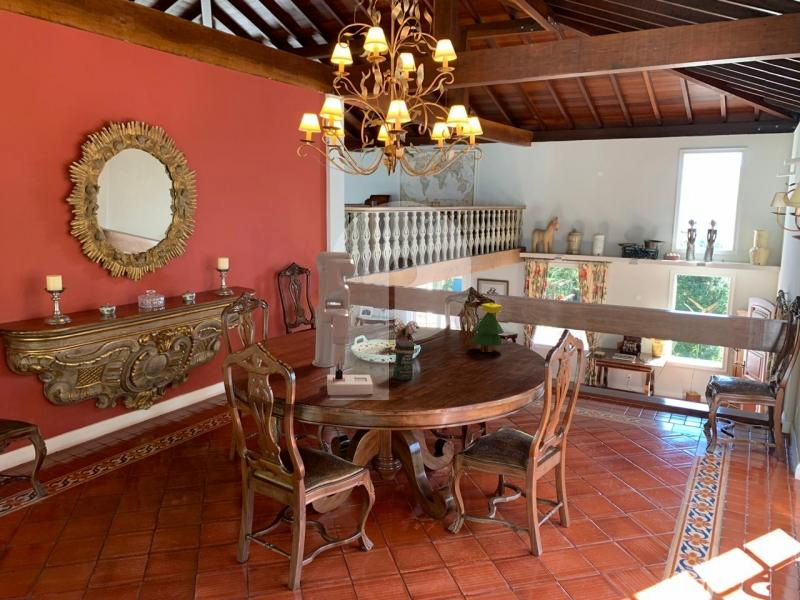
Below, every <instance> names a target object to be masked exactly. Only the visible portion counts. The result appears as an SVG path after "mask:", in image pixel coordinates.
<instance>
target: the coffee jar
mask: <svg viewBox="0 0 800 600" xmlns="http://www.w3.org/2000/svg"><path fill="white" fill-rule="evenodd" d="M395 344H396V346H395V351H394V352H395V361H394V366H393V373H392V376H393V378H394V379H396V380H400V381H402V380H403V381H404V380H411V379H413V377H414V372H413V371H414V370H413V358H414V357H413V356H414V354H415V353H414V351H415V349H414V346H415V343H414V342H413V341H411V340H409V342H396V343H395Z"/></svg>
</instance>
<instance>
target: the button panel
mask: <svg viewBox="0 0 800 600" xmlns="http://www.w3.org/2000/svg"><path fill="white" fill-rule="evenodd" d="M326 376H327V377H326V388H327V389H326V390H327V395H328V396H355V395H354V394H359V395H358V396H361V395H360V394H374V393H373V392H374V382H373V381H372V380H373V379H372V378H371V377H372V376H371V374H343V377H344V380H345V381H333V377H335V374H326ZM355 379H366V381H355Z"/></svg>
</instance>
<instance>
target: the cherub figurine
mask: <svg viewBox="0 0 800 600" xmlns="http://www.w3.org/2000/svg"><path fill="white" fill-rule="evenodd" d="M393 326H394V328H393V333H394V335H395V337H394V340H395V343H394V344H396V342H410V341H411V342H413V341H414V340H415V339H416V338H415V336H413V335H414V333H415V334H417V333H418V329H419V330H420V325H419V324H418V322H416V321H415V320H410V321H408V322H407V324H405V323H404V321H403V319H401V318H398V317H397V318H396V319H395V322H394V323H393ZM420 348H421V346H420Z"/></svg>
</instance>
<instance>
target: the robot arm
mask: <svg viewBox="0 0 800 600" xmlns="http://www.w3.org/2000/svg"><path fill="white" fill-rule="evenodd" d="M315 266H316V268H317V272H318V298H319V300H318V305H317V306H316V308H315V309H314V316H315V318H314V319H315V327H316V329H315V330H316V331H315V354H314V355H315V356H314V358H315V359H313V360H312V365H313V366H314V367H317V368H332V367H335V372H334V373H335V374H334V375H335V379H343V375H344V374H343V373H344V369H343V368H344V366H345V364H346V352H347V351H346V350H347V345H348V344H349V342H350V321H351V313H350V309H351V308H350V307H351V306H350V305H351V304H350V303H351V302H350V301H351V290H350V287H349V285H348V284H345V278H347V277H354V276H355V274H356V264H355V261H354V258H353V257H352V255H351V254H350V253H349V252H345V251H342V252H341V251H340V252H337V251H319V252H317V253H316V255H315ZM326 303H340V304H326Z"/></svg>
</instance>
